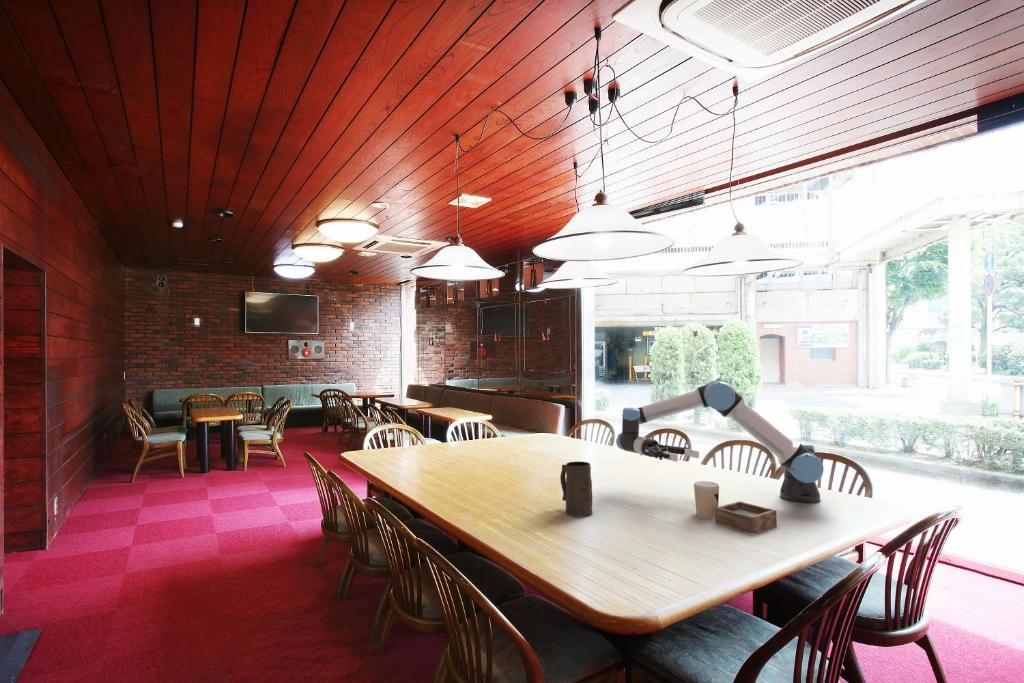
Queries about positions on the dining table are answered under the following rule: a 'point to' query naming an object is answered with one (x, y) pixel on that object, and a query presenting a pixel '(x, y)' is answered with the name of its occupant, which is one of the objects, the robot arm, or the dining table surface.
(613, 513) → the dining table surface
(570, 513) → the beer stein
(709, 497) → the coffee cup
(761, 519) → the wooden tray
